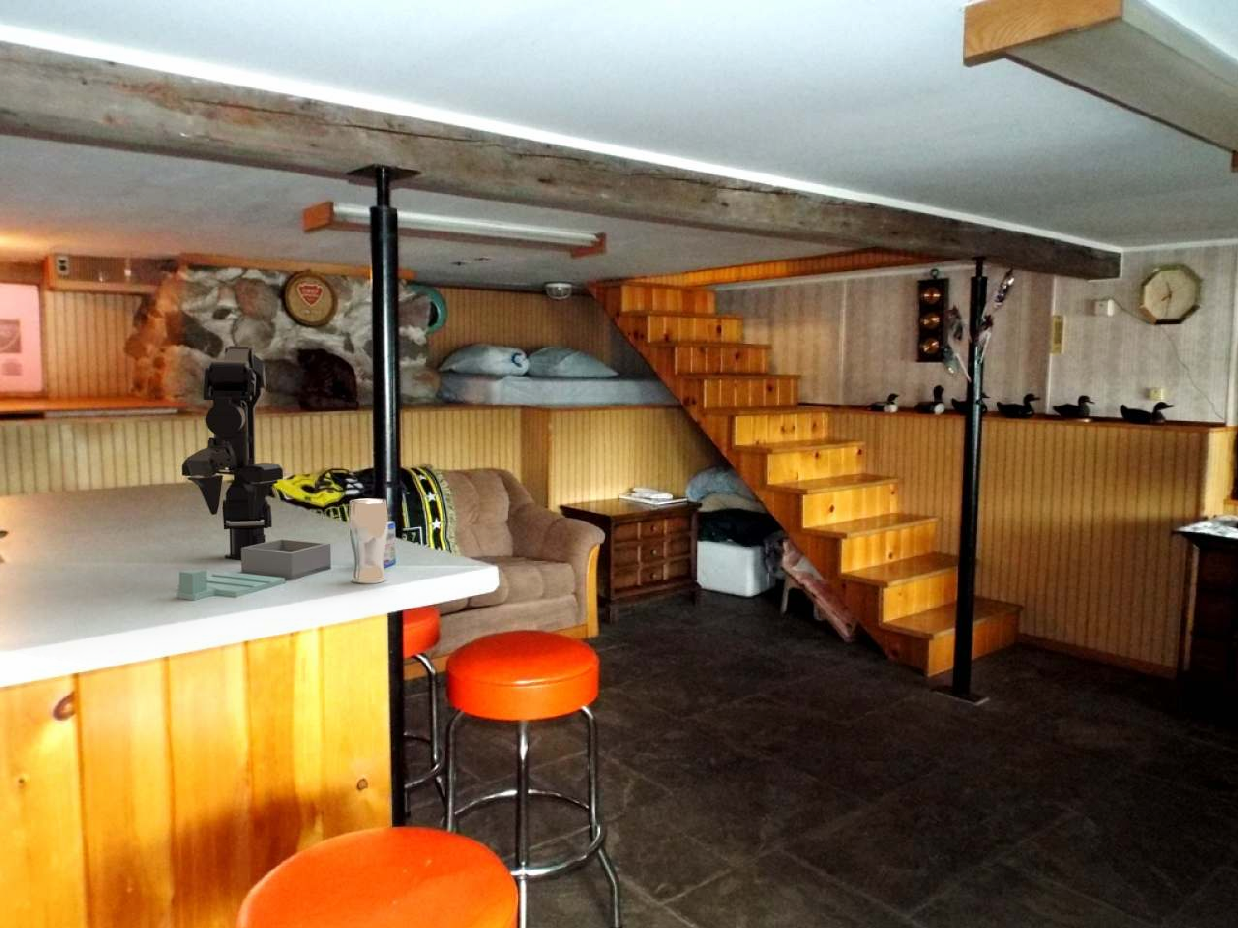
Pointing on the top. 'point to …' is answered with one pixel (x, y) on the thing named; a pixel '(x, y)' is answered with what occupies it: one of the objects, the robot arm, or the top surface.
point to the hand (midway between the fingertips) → (233, 516)
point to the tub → (285, 558)
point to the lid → (221, 584)
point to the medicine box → (390, 546)
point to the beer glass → (368, 539)
